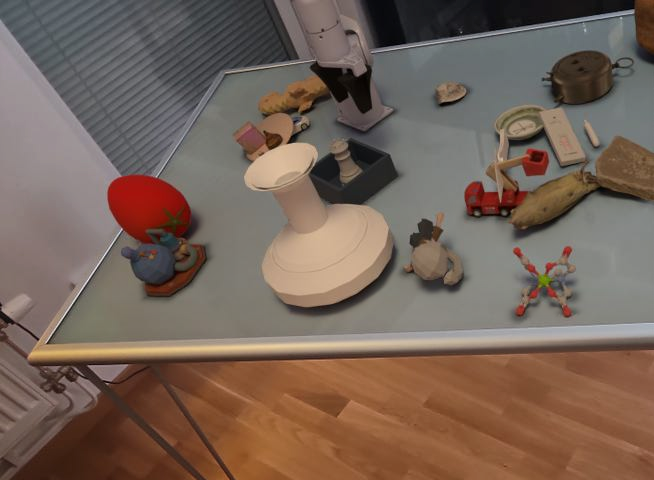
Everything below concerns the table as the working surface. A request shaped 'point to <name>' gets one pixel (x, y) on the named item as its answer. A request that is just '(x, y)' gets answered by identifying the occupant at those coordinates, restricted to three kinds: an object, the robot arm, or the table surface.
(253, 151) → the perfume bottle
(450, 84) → the fossil
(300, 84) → the toy
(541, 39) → the table surface
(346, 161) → the rook chess piece
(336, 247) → the white vase
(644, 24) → the bread
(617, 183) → the decorative stone
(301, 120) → the toy car
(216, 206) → the table surface
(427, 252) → the toy
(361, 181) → the bin
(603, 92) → the alarm clock
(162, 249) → the model
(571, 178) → the root vegetable
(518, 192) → the toy fire truck
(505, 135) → the knife
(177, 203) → the tomato
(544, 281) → the molecular model
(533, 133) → the saucer
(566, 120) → the pregnancy test
